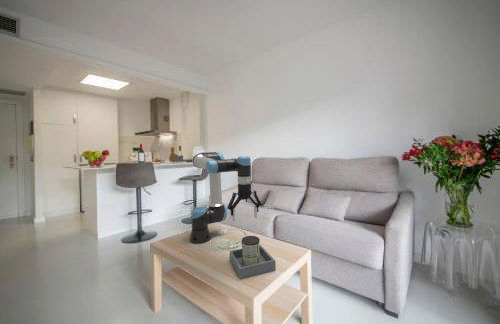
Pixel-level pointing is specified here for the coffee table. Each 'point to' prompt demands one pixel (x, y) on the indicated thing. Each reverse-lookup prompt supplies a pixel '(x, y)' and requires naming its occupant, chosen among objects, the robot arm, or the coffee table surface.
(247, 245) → the coffee can
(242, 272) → the bin
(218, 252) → the coffee table surface
